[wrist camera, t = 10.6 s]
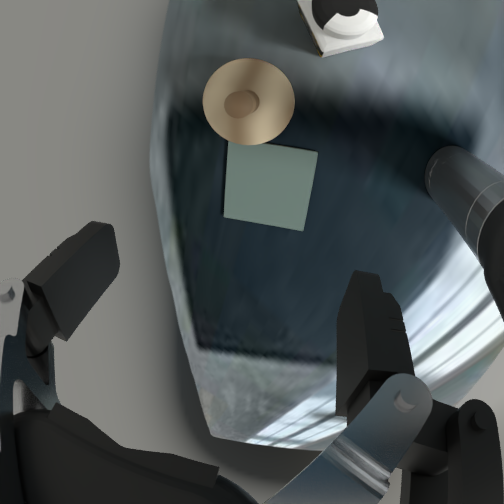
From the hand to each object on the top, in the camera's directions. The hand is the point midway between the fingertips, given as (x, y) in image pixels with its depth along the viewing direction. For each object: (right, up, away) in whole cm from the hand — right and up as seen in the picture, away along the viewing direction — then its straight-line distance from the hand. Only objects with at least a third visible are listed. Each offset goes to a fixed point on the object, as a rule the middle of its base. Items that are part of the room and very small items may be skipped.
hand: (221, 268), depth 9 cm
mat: (+3, +10, +32) cm, 34 cm away
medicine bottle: (+11, +28, +18) cm, 35 cm away
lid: (+1, +18, +22) cm, 28 cm away
